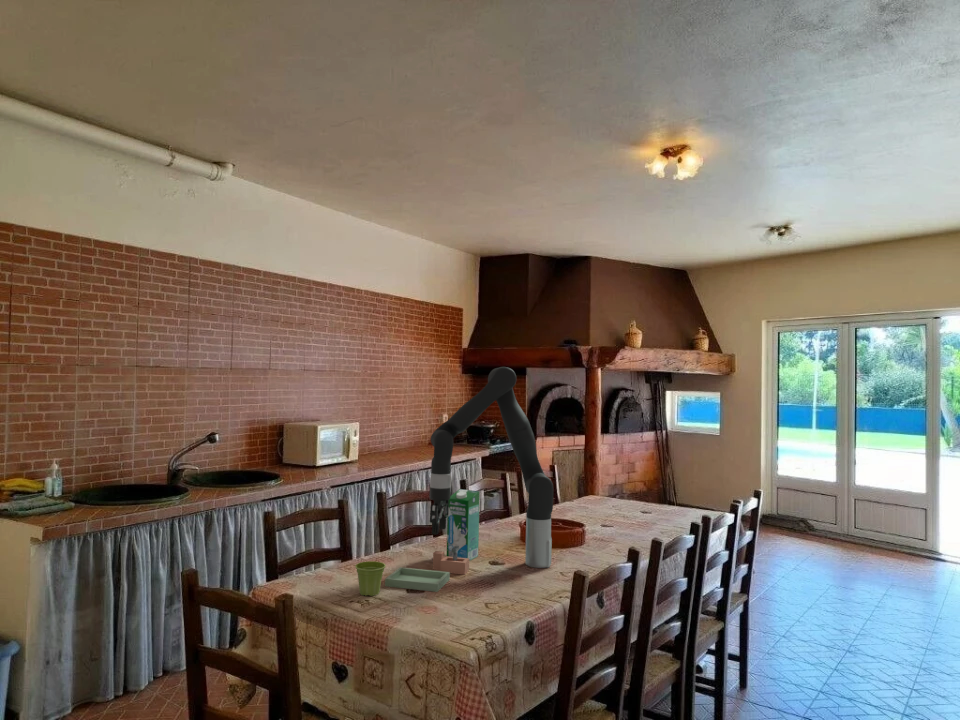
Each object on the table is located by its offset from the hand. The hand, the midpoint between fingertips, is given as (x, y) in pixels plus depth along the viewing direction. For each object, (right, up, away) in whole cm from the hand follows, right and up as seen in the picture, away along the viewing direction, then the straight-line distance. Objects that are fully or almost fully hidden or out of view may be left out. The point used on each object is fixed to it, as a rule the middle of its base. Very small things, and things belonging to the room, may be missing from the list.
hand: (438, 531), depth 220 cm
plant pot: (-20, -12, -26) cm, 35 cm away
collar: (+4, -13, -2) cm, 14 cm away
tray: (-6, -13, -16) cm, 21 cm away
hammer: (+6, -13, -2) cm, 15 cm away
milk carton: (+8, -14, +15) cm, 22 cm away
